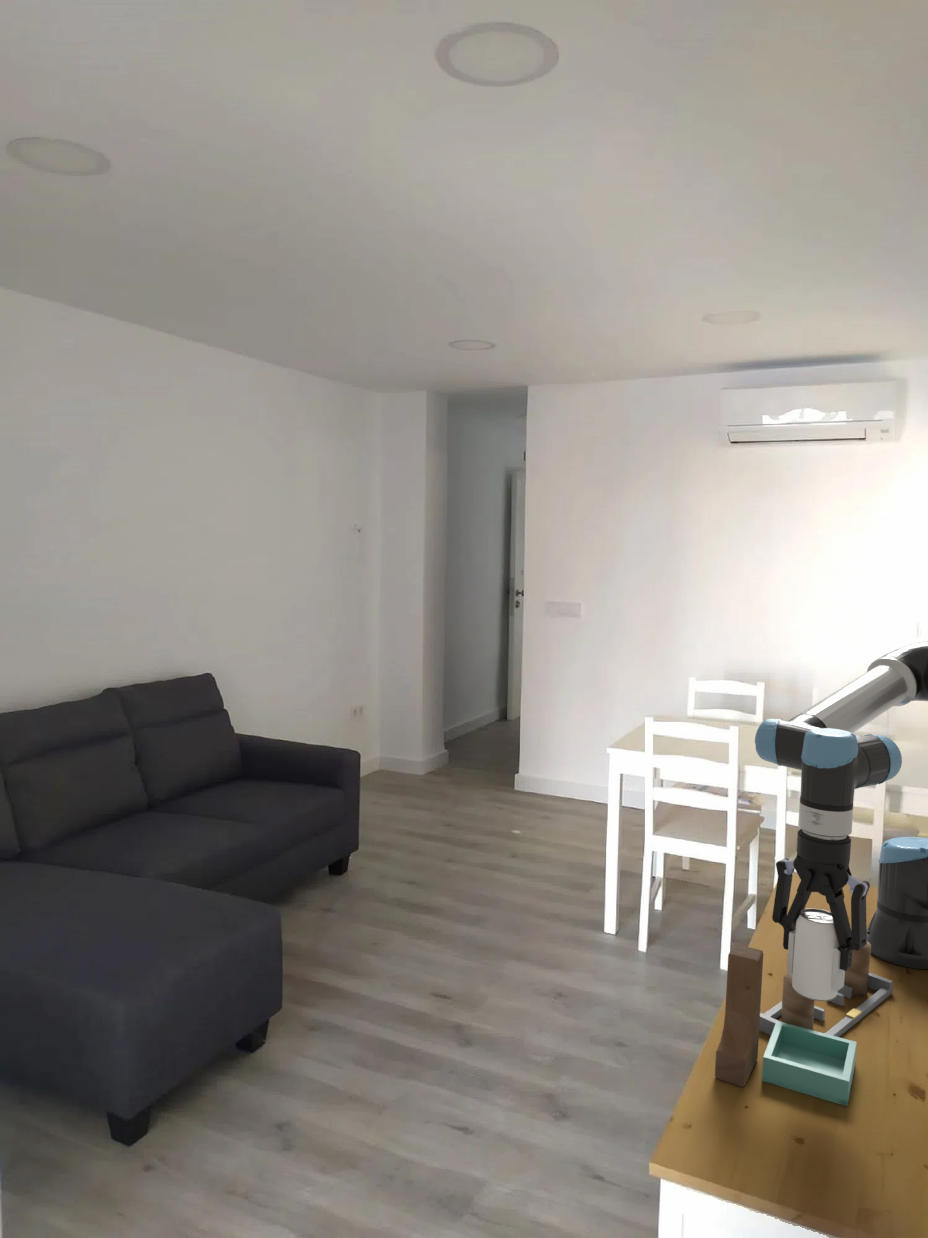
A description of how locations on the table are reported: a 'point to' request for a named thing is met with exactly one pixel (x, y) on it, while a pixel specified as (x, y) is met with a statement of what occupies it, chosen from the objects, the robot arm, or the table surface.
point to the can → (814, 954)
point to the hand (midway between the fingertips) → (814, 979)
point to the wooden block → (740, 1016)
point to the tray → (810, 1062)
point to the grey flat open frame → (852, 1017)
